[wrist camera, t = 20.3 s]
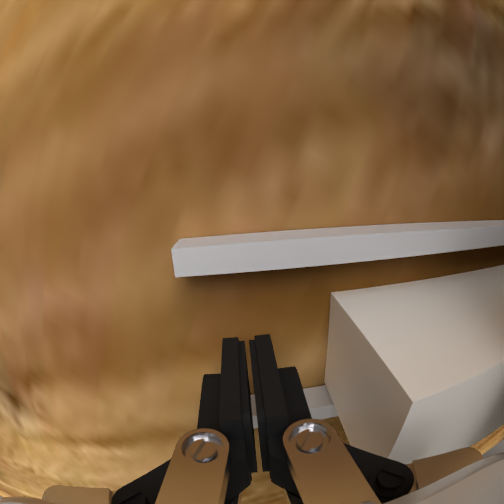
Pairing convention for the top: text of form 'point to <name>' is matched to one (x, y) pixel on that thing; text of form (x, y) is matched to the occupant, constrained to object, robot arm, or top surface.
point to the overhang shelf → (327, 258)
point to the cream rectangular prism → (418, 363)
